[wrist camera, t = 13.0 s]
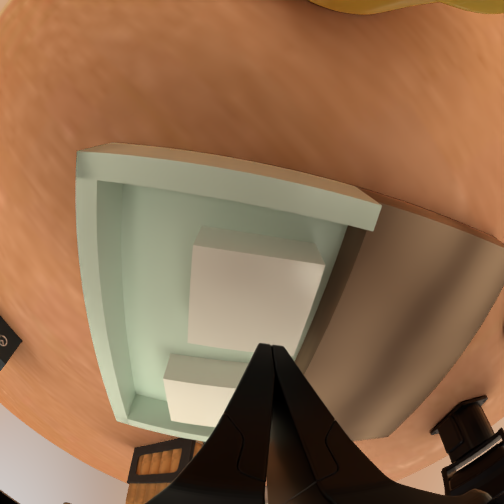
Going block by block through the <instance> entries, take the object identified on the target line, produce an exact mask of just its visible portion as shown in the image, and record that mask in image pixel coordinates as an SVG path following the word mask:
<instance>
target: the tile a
mask: <svg viewBox="0 0 504 504" xmlns="http://www.w3.org/2000/svg"><path fill="white" fill-rule="evenodd" d="M248 364H249V363H244V362H233V361H223V360H214V359H206V358H199V357H191V356H185V355H178V354H172V353H170V357H169V360H168V363H167V367H166V370H165V374H164V377H163V381H164V387H165V392H166V398H167V403H168V408H169V413H170V418H171V421H175V422H181V423H187V424H194V425H201V426H209V427H216V425H217V424H218V422H219V420H220V418H221V416H222V414H223V413H224V411H225V409H226V407H227V405H228V403H229V401H230V399H231V397H232V395H233V393H234V391H235V390H236V388H237V386H238V384H239V382H240V380H241V378H242V376H243V374H244V372H245V370H246V368H247V366H248Z"/></svg>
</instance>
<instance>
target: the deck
mask: <svg viewBox="0 0 504 504" xmlns="http://www.w3.org/2000/svg"><path fill="white" fill-rule="evenodd" d="M355 187H356V186H355ZM357 188H358V189H360V190H361V191H362V192H364V193H365V194H367V195H368V196H369V197H371V198H372V199H374V200H375V201H376V202H378V203H379V204H380V205H382V207H381V210H380V213H379V216H378V219H377V222H376V225H375V228H374V231H369V230H365V229H361V228H357V227H353V226H349V225H348V226H347V229H346V232H345V235H344V238H343V241H342V244H341V247H340V250H339V253H338V255H337V258H336V261H335V264H334V266H333V269H332V272H331V275H330V277H329V280H328V283H327V285H326V288H325V290H324V293H323V295H322V298H321V300H320V303H319V306H318V308H317V310H316V313H315V315H314V318H313V320H312V323H311V325H310V327H309V330H308V332H307V334H306V337H305V339H304V341H303V344H302V346H301V348H300V350H299V353H298V355H297V357H296V359H295V361H294V362H295V363H296V365H297V366H298V367H299V369H300V370H301V372H302V373H303V375H304V376H305V377H306V379H307V380H308V382H309V383H310V384H311V386H312V387H313V389H314V390H315V392H316V393H317V394H318V396H319V397H320V399H321V400H322V401H323V403H324V404H325V406H326V407H327V408H328V410H329V411H330V413H331V414H332V415H333V417H334V418H335V420H336V421H337V422H338V423H339V425H340V426H341V427H342V429H343V430H344V431H345V433H346V434H347V435H348V436H349V438H350V439H351V440H352V441H359V440H368V439H376V438H383V437H388V436H389V435H390V434H391V433H392V432H394V431H395V430H396V429H397V428H398V427H399V426H400V425H401V424H402V423H403V422H404V421H405V420H406V419H407V418H408V417H409V416H410V415H411V414H412V413H413V412H414V411H415V410H416V409H417V408H418V407H419V406H420V405H421V403H422V402H423V401H424V400H425V399H426V398H427V397H428V396H429V395H430V394H431V392H432V391H433V390H434V389H435V388H436V387H437V385H438V384H439V383H440V382H441V381H442V379H443V378H444V377H445V376H446V374H447V373H448V372H449V371H450V369H451V368H452V367H453V365H454V364H455V363H456V362H457V360H458V359H459V357H460V356H461V355H462V353H463V352H464V351H465V349H466V348H467V346H468V345H469V343H470V342H471V340H472V339H473V337H474V336H475V334H476V333H477V331H478V330H479V328H480V327H481V325H482V323H483V322H484V320H485V318H486V317H487V315H488V313H489V312H490V310H491V308H492V307H493V305H494V303H495V301H496V299H497V297H498V296H499V294H500V292H501V290H502V288H503V286H504V244H503V243H502V242H501V241H499V240H498V239H496V238H495V237H493V236H491V235H489V234H486V233H484V232H482V231H480V230H477V229H475V228H473V227H470V226H468V225H466V224H463V223H461V222H458V221H456V220H453V219H451V218H448V217H446V216H443V215H440V214H438V213H435V212H432V211H430V210H427V209H424V208H421V207H419V206H416V205H413V204H410V203H407V202H404V201H401V200H398V199H395V198H392V197H389V196H386V195H383V194H380V193H376V192H373V191H370V190H367V189H363V188H360V187H357ZM335 420H334V421H335Z"/></svg>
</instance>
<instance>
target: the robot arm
mask: <svg viewBox="0 0 504 504" xmlns="http://www.w3.org/2000/svg"><path fill="white" fill-rule="evenodd" d="M487 399H488V398H487V396H484V397H480V398H477V399H473V400H469V401H465V402H462V403H460V404H459V405H458V406H457V407H456V408H455V409H454V410H453V411H452V412H451V413H450V414H449V415H448V416H447V417H446V418H445V419H444V420H443V421H442V422H441V423H439V424H438V425H437V426H436V427H435V428H434V429H433V430H432V431H431V432H430V433H431V435H434V434H438V433H439V435H440V437H441V440H442V442H443V445H444V447H445V450H446V453H447V454H449V456H450V459H451V462H452V464H451V465H449V466H447V467H445V468H443V469H442V471H441V473H442V477H443V481H444V487H445V495H440V494H435V493H432V492H427V491H423V490H419V489H416V488H412V487H409V486H405V485H401V484H399V483H396V482H394V481H393V480H391V479H389V478H388V477H387V476H386V475H384V474H383V473H382V472H381V471H380V470H379V469H378V468H377V467H376V466H375V465H374V464H373V463H372V462H371V461H370V460H369V459H368V458H367V456H366V455H365V454H364V453H363V452H362V451H361V450H360V449H359V448H358V447H357V446H356V445H355V444H354V442H353V441H352V440H351V439H350V438H349V436H348V435H347V434H346V433H345V431H344V430H343V429H342V427H341V426H340V425H339V423H338V422H337V421H336V420H335V418H334V417H333V415H332V414H331V413H330V411H329V410H328V408H327V407H326V406H325V404H324V403H323V401H322V400H321V399H320V397H319V396H318V394H317V393H316V392H315V390H314V389H313V387H312V386H311V384H310V383H309V382H308V380H307V379H306V377H305V376H304V375H303V373H302V372H301V370H300V369H299V367H298V366H297V365H296V363H295V362H294V360H293V359H292V357H291V356H290V354H289V353H288V352H287V350H286V349H285V347H284V346H281V345H270V344H266V343H259V344H258V345H257V347H256V349H255V351H254V353H253V355H252V358H251V360H250V362H249V364H248V366H247V368H246V370H245V372H244V374H243V376H242V378H241V380H240V382H239V384H238V386H237V388H236V390H235V391H234V393H233V395H232V397H231V399H230V401H229V403H228V405H227V407H226V409H225V411H224V413H223V414H222V416H221V418H220V420H219V422H218V424H217V425H216V427H215V429H214V430H213V432H212V434H211V435H210V437H209V438H208V439H207V441H206V442H205V443H204V445H203V446H202V447H201V449H200V450H199V451H198V452H197V454H196V455H195V456H194V457H193V458H192V460H191V461H190V462H189V463H188V464H187V466H186V467H185V468H184V469H183V470H182V472H181V473H180V474H179V475H178V476H177V477H176V478H175V479H174V480H173V481H172V482H171V483H170V484H169V485H168V486H167V487H166V488H165V489H163V490H162V491H161V492H159V493H158V494H157V495H155V496H154V497H153V498H151V499H150V500H149V501H147V502H146V503H144V504H265V482H266V477H267V492H268V504H504V430H503V429H502V428H501V429H499V430H498V432H497V433H495V434H494V432H493V429H492V427H491V425H490V423H489V421H488V419H487V417H486V415H485V413H484V411H483V409H482V408H481V406H482V404H483V403H484V402H485V401H486V400H487ZM334 420H335V421H334ZM501 438H502V440H503V441H501V442H500V443H499V444H496V445H495V446H494V447H492V448H491V449H490V450H488V451H487V452H486V453H484V454H483V455H482V456H480V457H478V458H477V459H475V460H474V461H473V462H471V463H469V464H468V465H466V466H465V467H463V468H462V469H460V470H458V471H457V472H456V470H457V469H458V468H460V467H462V466H463V465H465V464H466V463H468V462H469V461H471V460H472V459H474V458H475V457H477V456H478V455H480V454H481V453H482V452H484V451H485V450H487V449H488V448H490V447H491V446H492V445H494V444H495V443H496V442H497V441H499V440H500V439H501ZM0 504H20V503H18V502H17V501H15V500H14V499H12V498H11V497H10V496H8V495H7V494H5V493H4V492H3V491H1V490H0ZM64 504H70V503H64Z"/></svg>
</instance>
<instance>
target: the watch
mask: <svg viewBox="0 0 504 504" xmlns="http://www.w3.org/2000/svg"><path fill="white" fill-rule="evenodd" d="M21 342H22V340H21V339H20V338H19V337H18V336H17V335H16V334H15V332H14V331H13V330H12V329H11V328H10V327H9V326H8V324H7V323H6V322H5V321H4V320H3V318H2V317H1V316H0V371H1V370H2V368H3V367H4V366H5V364H6V363H7V362H8V360H9V359H10V357H11V356H12V354H13V353H14V352H15V350H16V349H17V347H18V346H19V345H20V343H21Z"/></svg>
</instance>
